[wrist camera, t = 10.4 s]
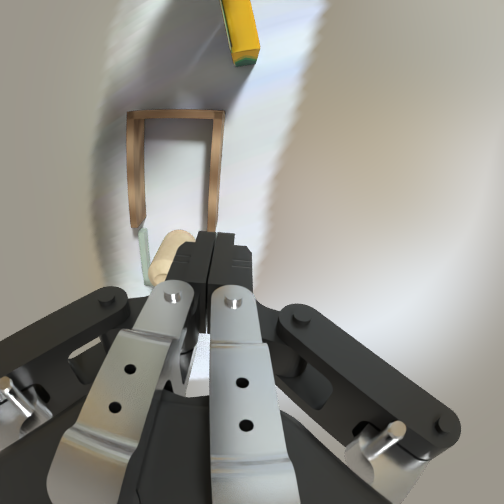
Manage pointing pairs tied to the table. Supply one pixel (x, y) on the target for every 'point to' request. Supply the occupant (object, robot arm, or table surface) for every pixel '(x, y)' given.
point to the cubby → (137, 158)
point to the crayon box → (240, 31)
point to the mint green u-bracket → (145, 254)
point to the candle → (167, 255)
